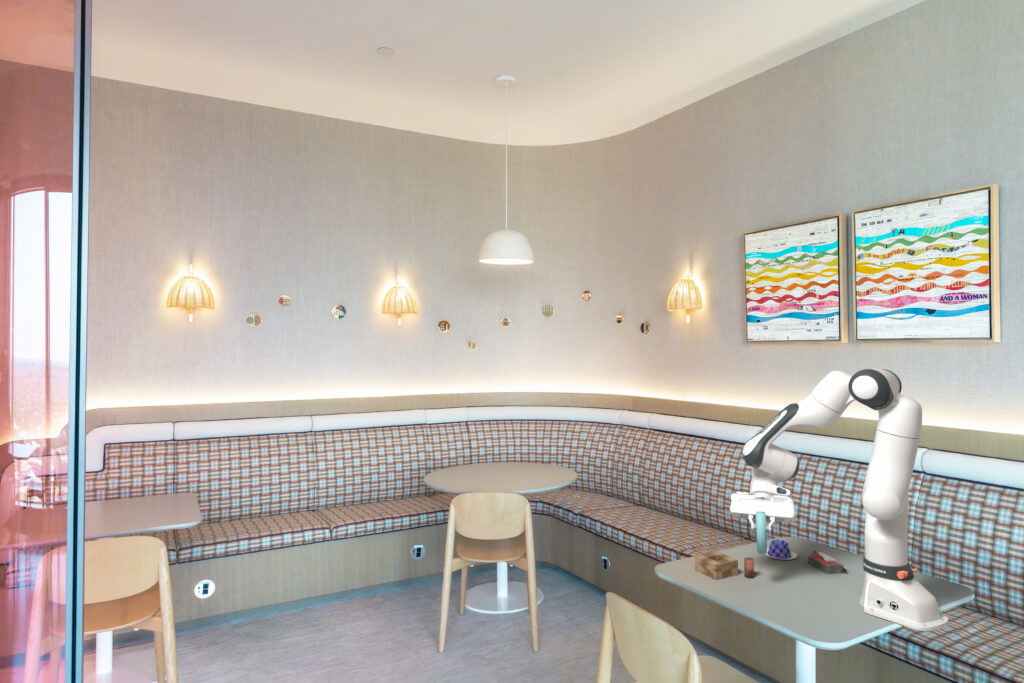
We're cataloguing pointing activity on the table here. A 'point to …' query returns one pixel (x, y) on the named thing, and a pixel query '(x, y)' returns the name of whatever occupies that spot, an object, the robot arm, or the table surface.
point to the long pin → (761, 532)
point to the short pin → (749, 567)
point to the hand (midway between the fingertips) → (761, 530)
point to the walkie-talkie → (825, 563)
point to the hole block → (716, 565)
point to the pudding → (780, 550)
